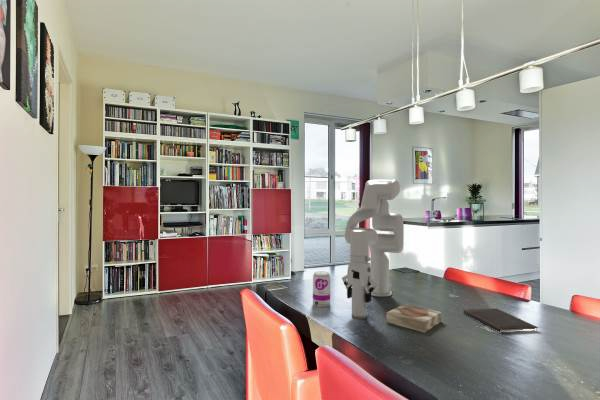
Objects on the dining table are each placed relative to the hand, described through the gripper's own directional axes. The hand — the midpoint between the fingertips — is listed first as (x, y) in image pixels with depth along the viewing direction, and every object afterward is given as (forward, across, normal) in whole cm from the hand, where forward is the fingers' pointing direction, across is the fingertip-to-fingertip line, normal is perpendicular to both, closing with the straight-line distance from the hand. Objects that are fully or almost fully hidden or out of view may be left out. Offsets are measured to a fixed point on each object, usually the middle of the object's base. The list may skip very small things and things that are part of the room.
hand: (358, 299), depth 152 cm
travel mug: (+7, 0, 0) cm, 7 cm away
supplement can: (+7, +22, -2) cm, 23 cm away
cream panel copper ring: (+7, -20, -10) cm, 24 cm away
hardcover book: (+8, -45, -34) cm, 57 cm away
